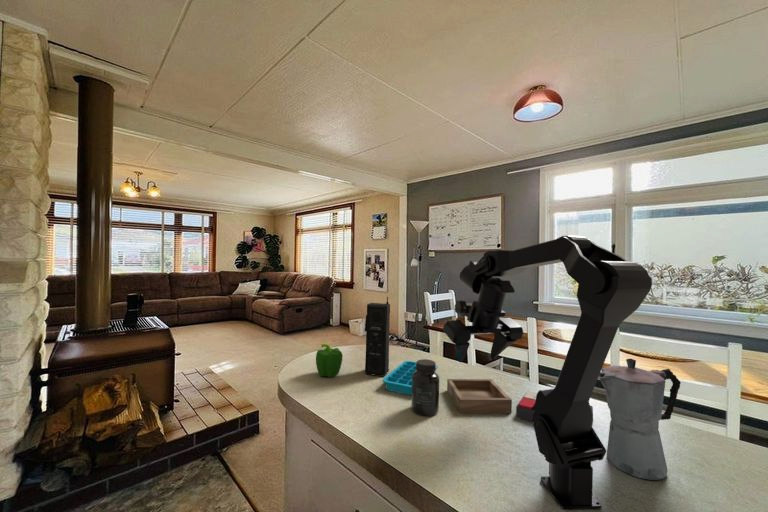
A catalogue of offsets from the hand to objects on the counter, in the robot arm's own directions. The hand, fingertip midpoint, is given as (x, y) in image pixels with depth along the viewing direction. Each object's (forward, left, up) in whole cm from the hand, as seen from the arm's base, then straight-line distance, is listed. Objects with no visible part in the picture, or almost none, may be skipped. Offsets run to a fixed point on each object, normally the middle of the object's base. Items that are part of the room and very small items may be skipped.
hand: (476, 359), depth 77 cm
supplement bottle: (+2, +12, -14) cm, 18 cm away
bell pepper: (+25, +39, -14) cm, 48 cm away
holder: (+7, -3, -13) cm, 15 cm away
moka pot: (-19, -25, -14) cm, 34 cm away
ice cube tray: (+20, +13, -14) cm, 28 cm away
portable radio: (+27, +24, -14) cm, 39 cm away
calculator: (-2, -19, -14) cm, 24 cm away
